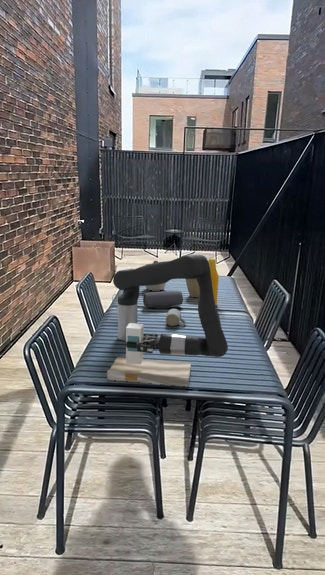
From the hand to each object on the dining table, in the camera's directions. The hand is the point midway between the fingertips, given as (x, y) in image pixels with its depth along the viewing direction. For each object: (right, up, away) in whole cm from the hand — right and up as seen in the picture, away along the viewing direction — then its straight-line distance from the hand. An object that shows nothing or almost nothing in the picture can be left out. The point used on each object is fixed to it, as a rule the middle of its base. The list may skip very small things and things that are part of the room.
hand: (128, 341), depth 146 cm
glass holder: (-8, +4, +70) cm, 70 cm away
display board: (+8, -13, +4) cm, 16 cm away
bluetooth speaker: (+13, +8, +90) cm, 91 cm away
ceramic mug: (+20, 0, +60) cm, 64 cm away
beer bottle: (+42, +9, +98) cm, 107 cm away
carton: (+2, -8, +2) cm, 8 cm away
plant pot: (+35, +14, +116) cm, 122 cm away
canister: (+8, +18, +132) cm, 133 cm away
